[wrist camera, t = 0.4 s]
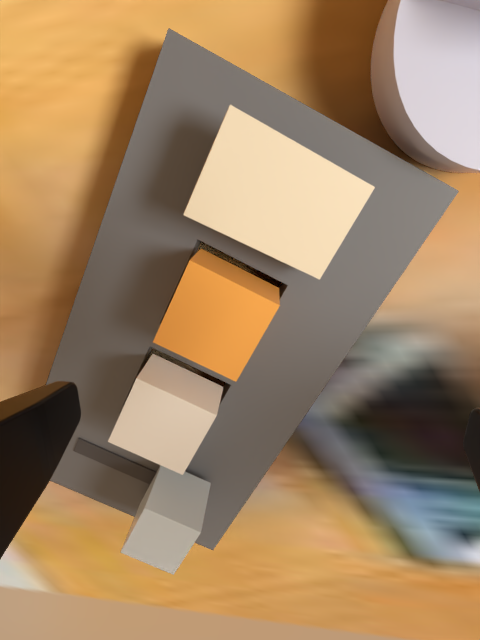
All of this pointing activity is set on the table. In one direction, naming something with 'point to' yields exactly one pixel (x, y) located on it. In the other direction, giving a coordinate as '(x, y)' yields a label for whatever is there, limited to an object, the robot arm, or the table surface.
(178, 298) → the orange button
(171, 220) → the control panel
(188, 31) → the table surface
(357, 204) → the cream rectangular plate
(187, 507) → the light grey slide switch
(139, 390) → the off-white button
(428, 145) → the wedge on round base
